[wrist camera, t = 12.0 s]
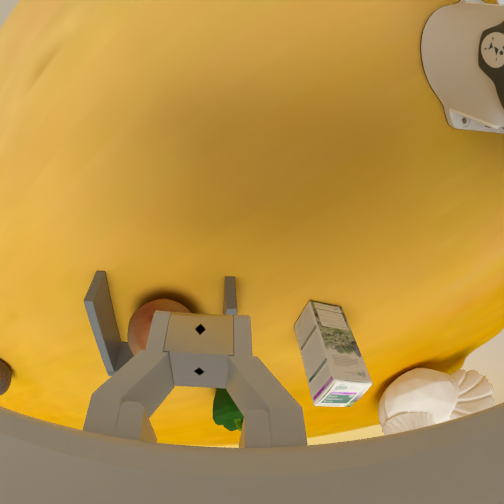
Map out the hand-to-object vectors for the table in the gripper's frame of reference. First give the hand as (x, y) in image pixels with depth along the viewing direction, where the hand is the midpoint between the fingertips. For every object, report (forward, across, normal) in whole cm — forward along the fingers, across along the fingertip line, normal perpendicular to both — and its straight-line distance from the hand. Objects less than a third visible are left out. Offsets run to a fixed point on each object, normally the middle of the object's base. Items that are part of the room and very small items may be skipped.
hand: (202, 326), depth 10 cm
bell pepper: (+25, -4, +44) cm, 51 cm away
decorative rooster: (+27, -45, +47) cm, 70 cm away
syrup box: (+26, -15, +26) cm, 40 cm away
